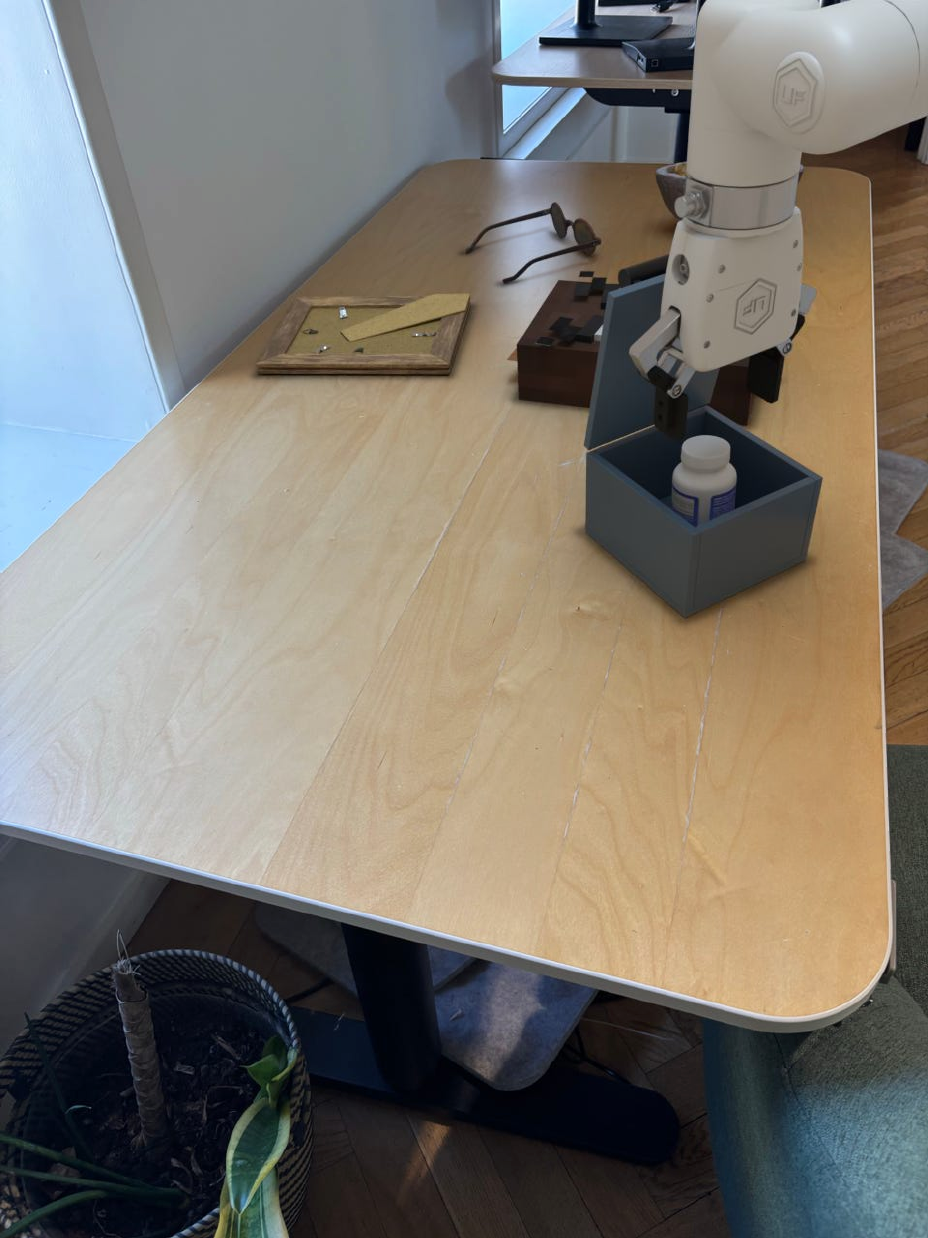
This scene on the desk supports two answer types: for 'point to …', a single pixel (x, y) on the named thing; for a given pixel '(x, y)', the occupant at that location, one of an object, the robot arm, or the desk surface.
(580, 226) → the eyeglasses
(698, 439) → the pill bottle
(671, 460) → the grey open box
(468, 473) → the desk surface
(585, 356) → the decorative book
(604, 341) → the lid
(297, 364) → the picture frame
